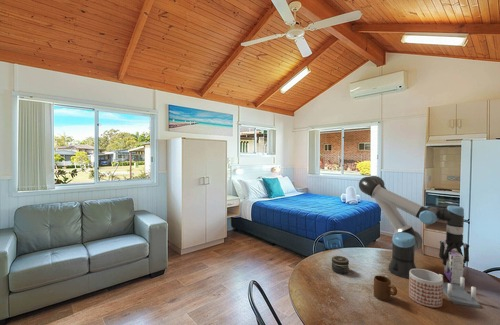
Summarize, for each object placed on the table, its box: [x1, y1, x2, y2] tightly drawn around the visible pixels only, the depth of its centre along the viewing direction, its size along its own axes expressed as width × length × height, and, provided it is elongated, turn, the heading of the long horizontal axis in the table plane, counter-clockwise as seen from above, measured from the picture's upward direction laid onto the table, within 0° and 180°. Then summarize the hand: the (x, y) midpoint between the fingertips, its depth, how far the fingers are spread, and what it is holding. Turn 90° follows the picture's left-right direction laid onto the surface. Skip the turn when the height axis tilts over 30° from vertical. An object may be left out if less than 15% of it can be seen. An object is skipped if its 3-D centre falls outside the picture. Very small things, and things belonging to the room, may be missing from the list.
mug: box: [373, 275, 398, 302], centre depth 121 cm, size 12×8×9 cm, turn 20°
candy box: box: [443, 246, 465, 285], centre depth 142 cm, size 14×6×16 cm, turn 154°
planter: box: [408, 268, 444, 309], centre depth 122 cm, size 14×14×13 cm
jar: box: [331, 255, 350, 275], centre depth 151 cm, size 10×10×8 cm
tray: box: [438, 273, 482, 309], centre depth 127 cm, size 12×20×7 cm, turn 163°
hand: (453, 271), depth 142 cm, fingers closed on candy box, 6 cm apart
